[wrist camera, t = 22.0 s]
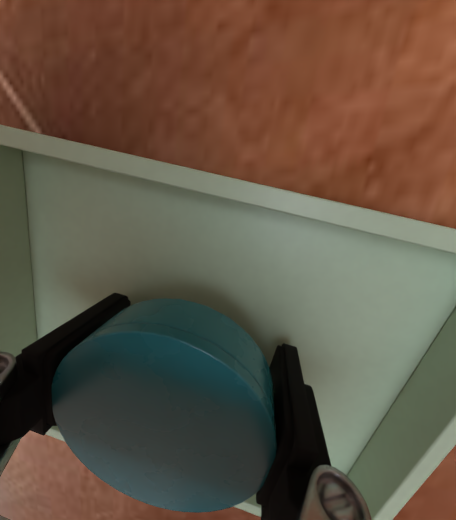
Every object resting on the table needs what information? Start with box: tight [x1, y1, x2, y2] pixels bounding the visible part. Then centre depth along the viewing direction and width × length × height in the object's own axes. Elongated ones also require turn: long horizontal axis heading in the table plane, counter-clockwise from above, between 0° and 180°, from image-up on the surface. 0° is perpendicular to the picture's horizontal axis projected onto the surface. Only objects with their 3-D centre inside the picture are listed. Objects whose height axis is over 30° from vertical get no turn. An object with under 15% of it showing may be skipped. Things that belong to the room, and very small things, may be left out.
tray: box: [0, 125, 456, 520], centre depth 9 cm, size 19×14×2 cm
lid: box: [51, 298, 277, 512], centre depth 7 cm, size 7×7×2 cm
